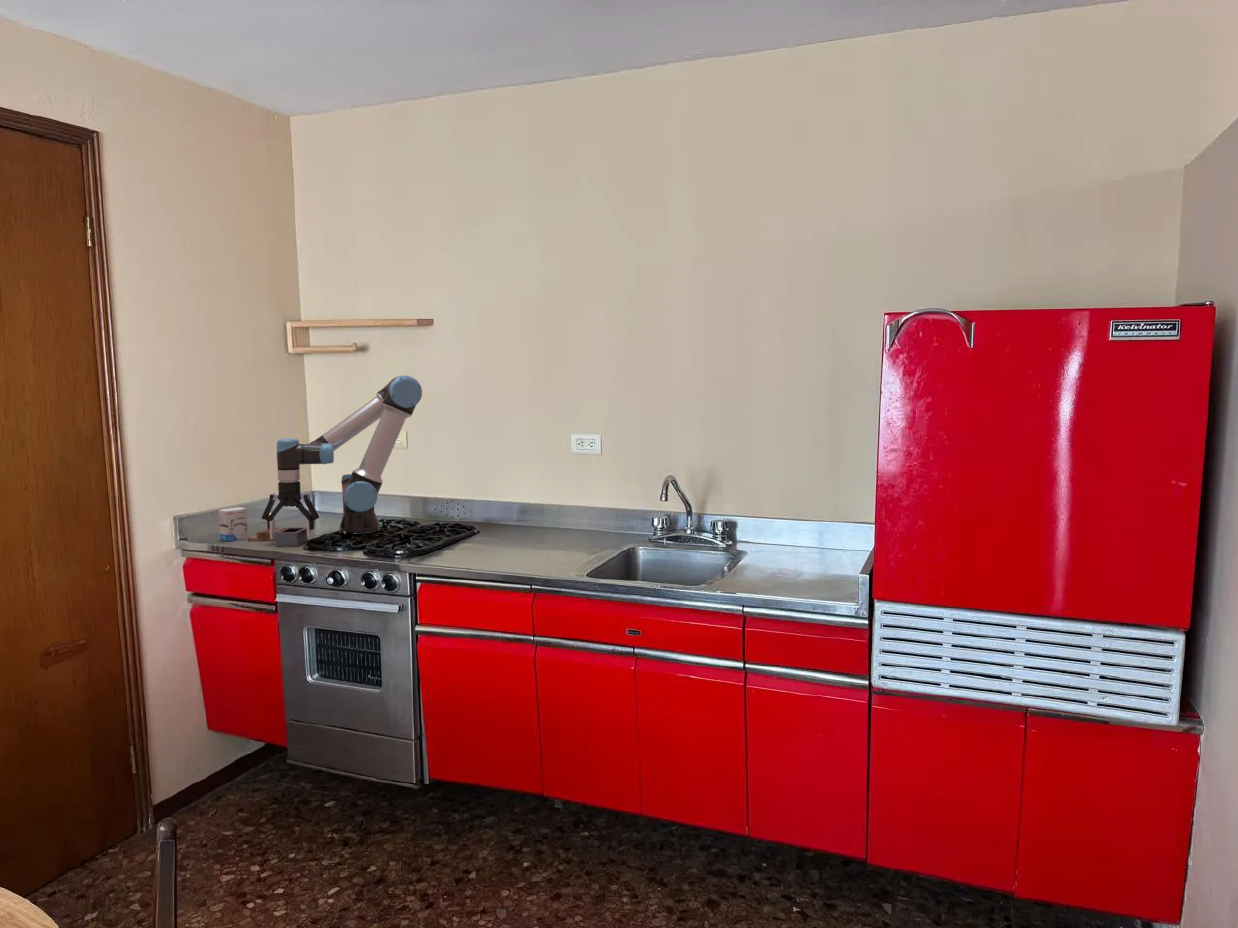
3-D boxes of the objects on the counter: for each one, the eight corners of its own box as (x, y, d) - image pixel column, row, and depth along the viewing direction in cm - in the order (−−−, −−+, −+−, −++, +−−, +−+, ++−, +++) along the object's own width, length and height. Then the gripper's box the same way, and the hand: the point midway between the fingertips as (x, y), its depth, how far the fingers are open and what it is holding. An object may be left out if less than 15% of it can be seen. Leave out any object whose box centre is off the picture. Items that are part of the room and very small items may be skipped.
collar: (309, 540, 305) (309, 527, 305) (297, 546, 294) (296, 532, 294) (288, 540, 305) (287, 527, 305) (275, 546, 294) (274, 533, 294)
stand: (295, 535, 315) (295, 527, 315) (284, 540, 305) (284, 532, 305) (260, 535, 316) (259, 527, 315) (247, 541, 306) (247, 532, 305)
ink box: (226, 542, 305) (224, 510, 304) (220, 540, 308) (217, 509, 307) (248, 538, 312) (246, 507, 311) (242, 536, 315) (240, 506, 314)
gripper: (326, 480, 301) (328, 536, 303) (260, 479, 301) (262, 536, 303) (319, 482, 293) (320, 540, 295) (250, 482, 294) (252, 540, 296)
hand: (291, 538), depth 299 cm, fingers open, 13 cm apart
